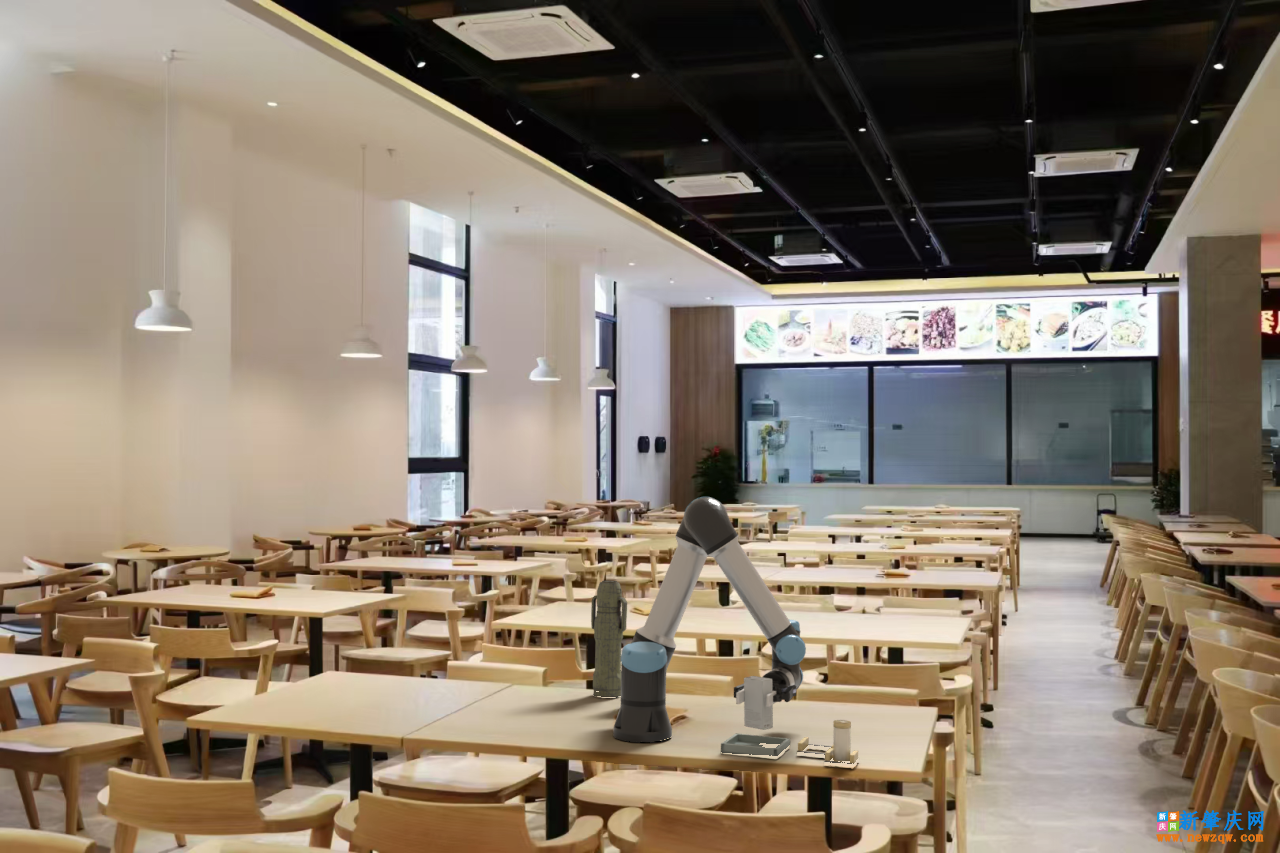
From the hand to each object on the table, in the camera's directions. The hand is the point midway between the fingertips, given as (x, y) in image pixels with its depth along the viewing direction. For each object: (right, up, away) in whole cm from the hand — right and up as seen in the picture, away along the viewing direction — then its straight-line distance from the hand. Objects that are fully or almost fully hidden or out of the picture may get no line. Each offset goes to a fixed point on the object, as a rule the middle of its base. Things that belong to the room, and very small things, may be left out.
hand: (752, 699), depth 279 cm
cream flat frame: (+18, -14, -2) cm, 23 cm away
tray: (+1, -14, +4) cm, 14 cm away
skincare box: (+2, -8, +4) cm, 9 cm away
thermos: (-37, -17, +74) cm, 84 cm away
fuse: (+20, -13, -8) cm, 25 cm away
